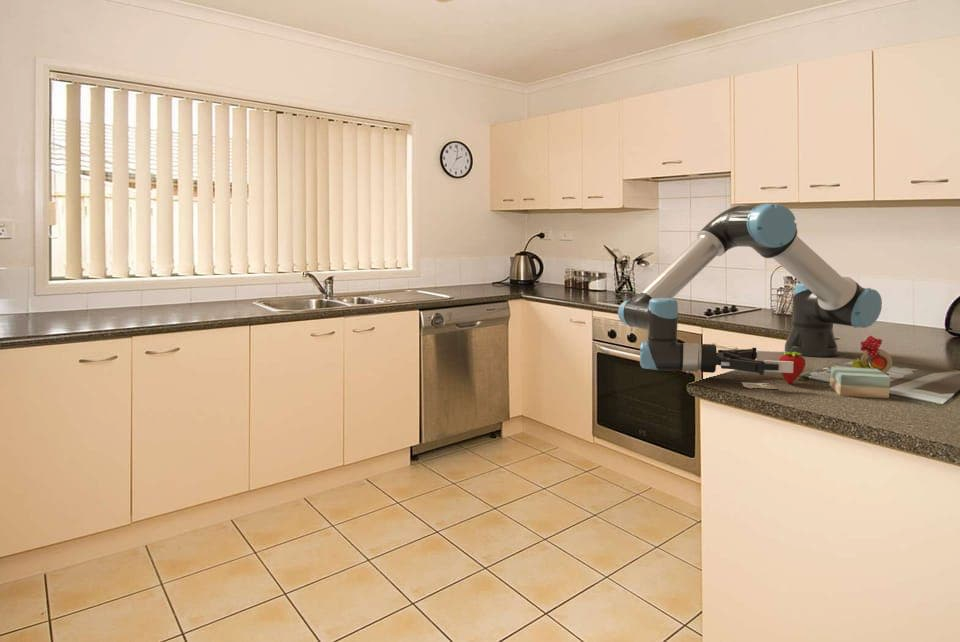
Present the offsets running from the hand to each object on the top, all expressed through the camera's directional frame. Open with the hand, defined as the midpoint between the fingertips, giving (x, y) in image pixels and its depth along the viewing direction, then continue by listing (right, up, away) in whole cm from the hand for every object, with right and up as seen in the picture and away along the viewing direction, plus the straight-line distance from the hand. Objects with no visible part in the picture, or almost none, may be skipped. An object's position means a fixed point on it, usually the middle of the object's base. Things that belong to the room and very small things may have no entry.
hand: (788, 361), depth 156 cm
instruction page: (-8, -6, -2) cm, 10 cm away
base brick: (+13, -7, -8) cm, 17 cm away
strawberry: (+1, -6, +1) cm, 6 cm away
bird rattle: (+26, -5, +9) cm, 28 cm away
